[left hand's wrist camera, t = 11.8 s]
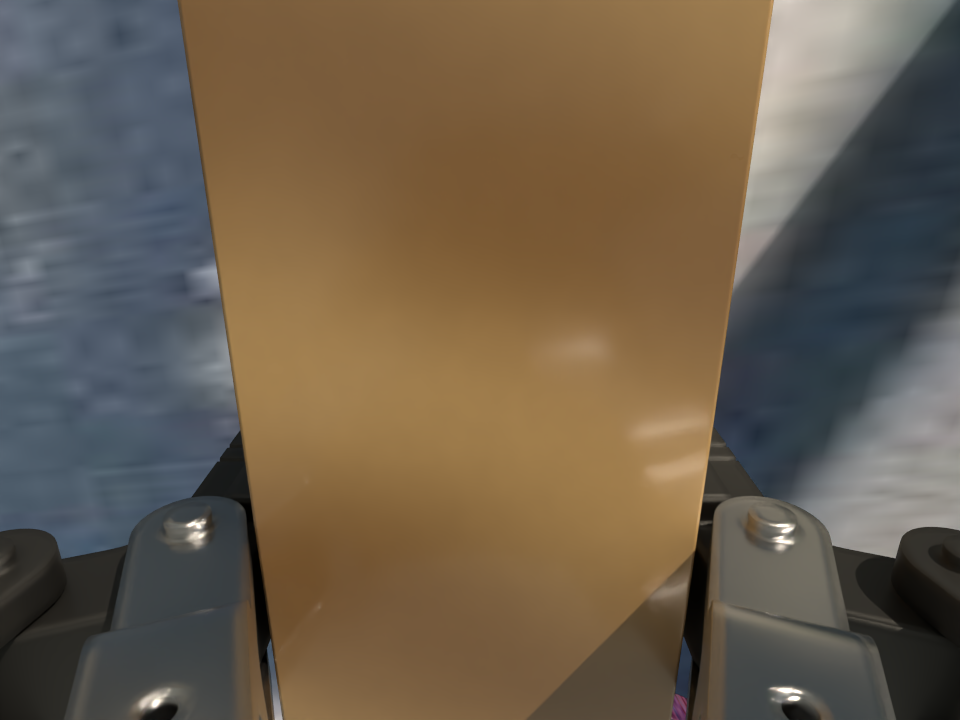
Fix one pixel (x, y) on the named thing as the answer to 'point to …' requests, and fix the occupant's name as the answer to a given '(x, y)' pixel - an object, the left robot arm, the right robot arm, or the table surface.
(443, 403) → the post
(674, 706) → the headband
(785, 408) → the table surface
